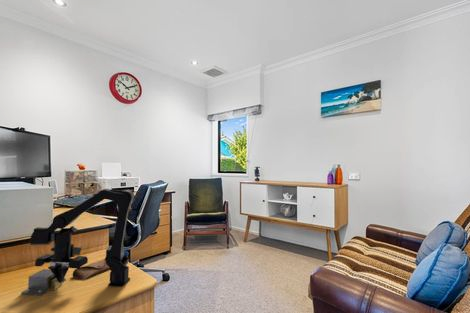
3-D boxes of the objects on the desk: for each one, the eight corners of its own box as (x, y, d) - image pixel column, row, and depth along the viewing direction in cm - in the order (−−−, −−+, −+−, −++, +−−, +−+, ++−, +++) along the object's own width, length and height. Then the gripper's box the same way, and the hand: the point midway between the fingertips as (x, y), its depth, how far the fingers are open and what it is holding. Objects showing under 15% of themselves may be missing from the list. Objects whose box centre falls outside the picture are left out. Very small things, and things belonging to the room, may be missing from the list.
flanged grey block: (65, 280, 103) (66, 267, 103) (40, 295, 91) (41, 281, 91) (48, 279, 104) (49, 266, 104) (21, 294, 92) (21, 279, 92)
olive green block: (62, 285, 99) (62, 276, 99) (55, 290, 95) (55, 280, 95) (49, 284, 99) (49, 275, 99) (41, 288, 96) (41, 279, 96)
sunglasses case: (83, 281, 102) (79, 266, 104) (75, 286, 105) (71, 271, 107) (120, 265, 118) (116, 252, 120) (112, 270, 121) (108, 257, 123)
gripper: (97, 238, 105) (95, 274, 104) (57, 236, 106) (56, 272, 106) (78, 247, 94) (76, 287, 93) (34, 245, 95) (32, 284, 94)
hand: (60, 282), depth 97 cm, fingers closed
